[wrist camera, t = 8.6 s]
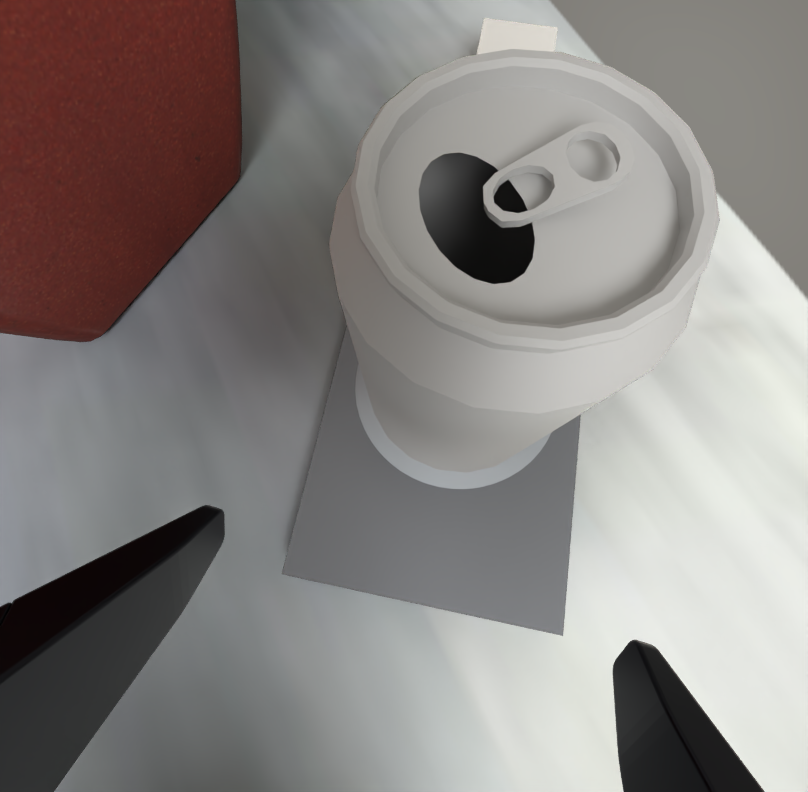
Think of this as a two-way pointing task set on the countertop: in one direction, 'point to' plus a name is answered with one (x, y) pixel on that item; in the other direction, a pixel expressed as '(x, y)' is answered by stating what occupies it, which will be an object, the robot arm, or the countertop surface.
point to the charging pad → (438, 497)
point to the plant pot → (108, 150)
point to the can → (516, 249)
